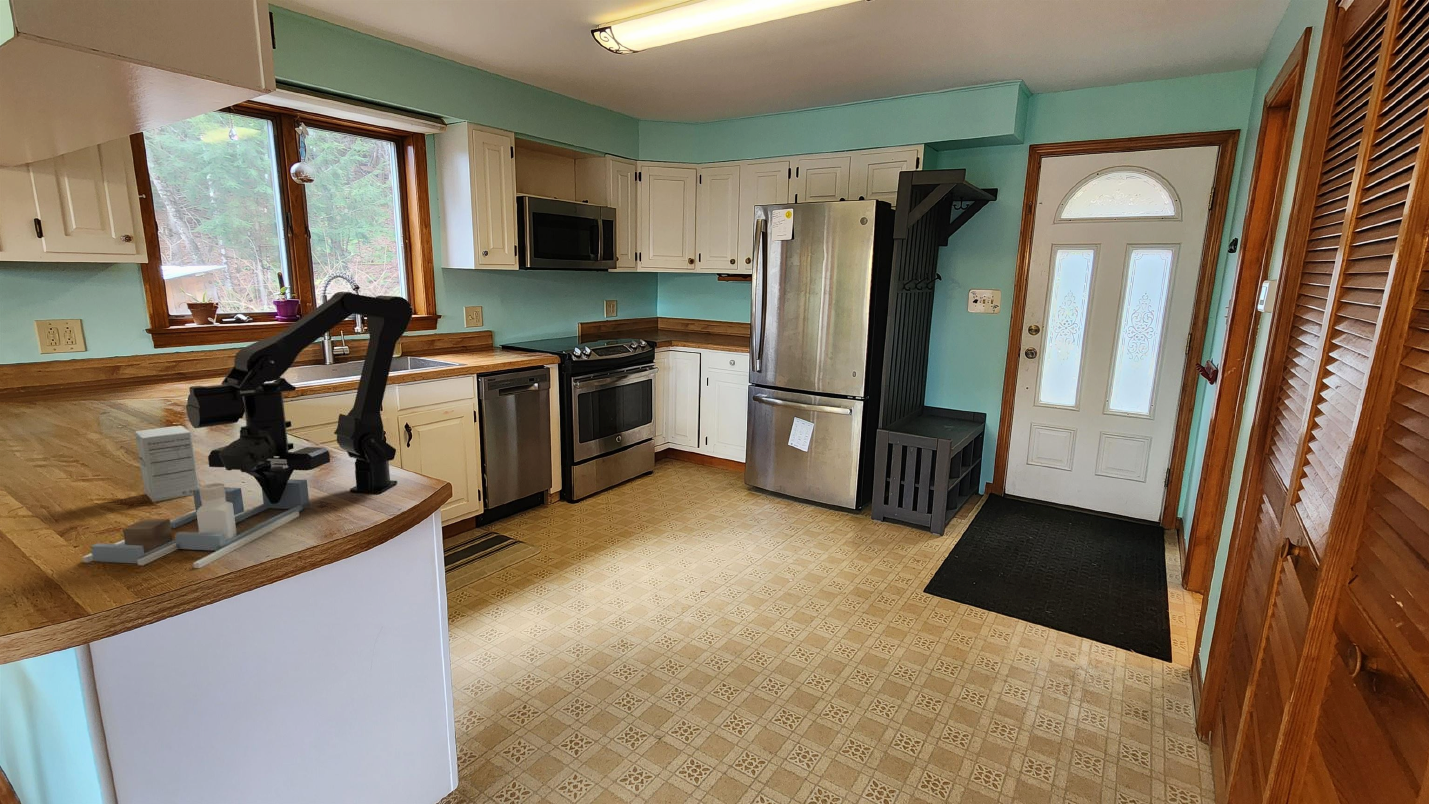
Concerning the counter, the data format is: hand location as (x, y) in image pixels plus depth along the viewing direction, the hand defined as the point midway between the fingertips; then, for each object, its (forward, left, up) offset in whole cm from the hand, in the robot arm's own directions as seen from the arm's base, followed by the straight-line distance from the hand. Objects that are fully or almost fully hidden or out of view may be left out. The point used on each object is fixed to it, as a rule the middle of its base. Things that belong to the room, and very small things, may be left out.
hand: (275, 503), depth 116 cm
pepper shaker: (+13, 0, -2) cm, 13 cm away
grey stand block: (+6, 0, -2) cm, 7 cm away
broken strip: (+11, -9, -2) cm, 14 cm away
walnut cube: (+16, -9, -2) cm, 18 cm away
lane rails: (+11, -4, -2) cm, 12 cm away
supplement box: (-7, -27, -2) cm, 28 cm away
